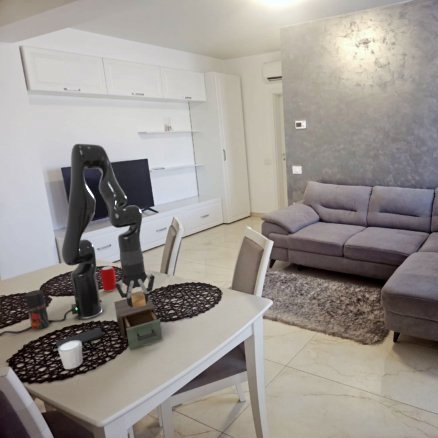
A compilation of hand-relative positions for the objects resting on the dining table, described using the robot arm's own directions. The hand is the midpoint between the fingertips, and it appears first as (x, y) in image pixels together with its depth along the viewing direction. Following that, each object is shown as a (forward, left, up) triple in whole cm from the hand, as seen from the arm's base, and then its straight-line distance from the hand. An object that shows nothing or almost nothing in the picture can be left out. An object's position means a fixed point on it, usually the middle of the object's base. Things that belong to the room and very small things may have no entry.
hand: (138, 304), depth 134 cm
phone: (-20, +13, -14) cm, 28 cm away
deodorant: (-33, +35, -14) cm, 50 cm away
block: (0, 0, 0) cm, 0 cm away
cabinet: (0, +11, -14) cm, 18 cm away
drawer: (0, -2, -13) cm, 13 cm away
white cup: (-23, -3, -14) cm, 27 cm away
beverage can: (-4, +59, -14) cm, 61 cm away
